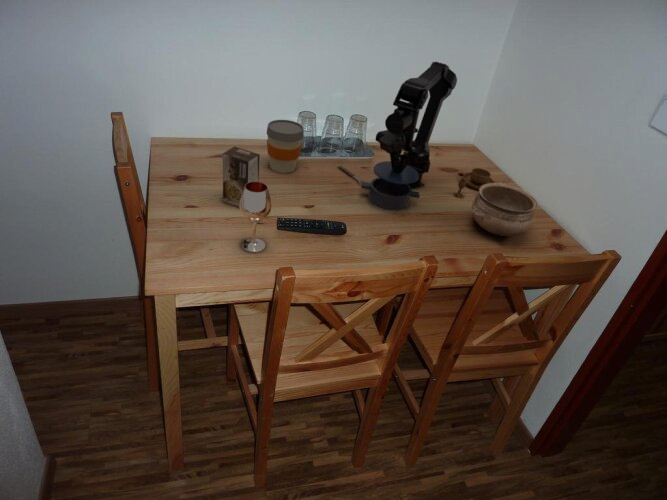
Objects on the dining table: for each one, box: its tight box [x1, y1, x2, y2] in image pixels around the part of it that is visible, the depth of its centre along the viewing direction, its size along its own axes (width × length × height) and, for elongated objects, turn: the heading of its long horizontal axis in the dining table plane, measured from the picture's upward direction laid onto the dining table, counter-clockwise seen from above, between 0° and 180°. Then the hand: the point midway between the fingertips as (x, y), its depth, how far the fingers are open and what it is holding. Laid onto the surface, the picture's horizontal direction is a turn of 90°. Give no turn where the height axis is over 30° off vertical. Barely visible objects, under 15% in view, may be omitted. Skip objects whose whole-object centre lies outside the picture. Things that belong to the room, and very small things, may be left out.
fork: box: [337, 165, 362, 185], centre depth 179 cm, size 15×2×8 cm, turn 37°
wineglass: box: [238, 181, 272, 253], centre depth 133 cm, size 8×8×18 cm
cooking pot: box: [470, 182, 538, 237], centre depth 159 cm, size 25×19×12 cm
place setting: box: [454, 167, 496, 198], centre depth 185 cm, size 18×20×6 cm
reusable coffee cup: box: [266, 119, 305, 174], centre depth 175 cm, size 13×12×15 cm
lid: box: [373, 158, 419, 184], centre depth 161 cm, size 15×15×5 cm
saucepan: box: [361, 177, 420, 212], centre depth 167 cm, size 14×19×6 cm
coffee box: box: [222, 146, 261, 208], centre depth 152 cm, size 9×6×16 cm
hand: (396, 171), depth 162 cm, fingers closed on lid, 3 cm apart
